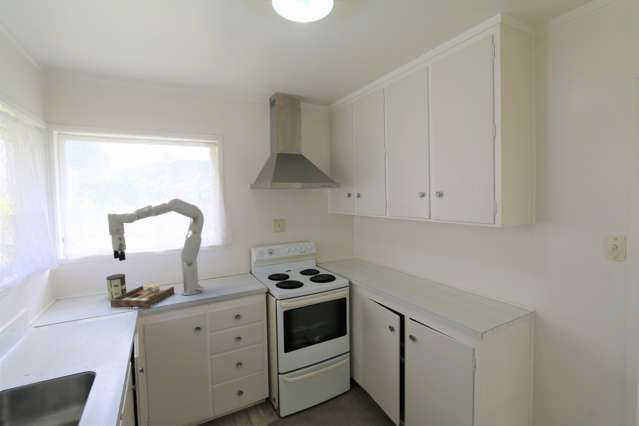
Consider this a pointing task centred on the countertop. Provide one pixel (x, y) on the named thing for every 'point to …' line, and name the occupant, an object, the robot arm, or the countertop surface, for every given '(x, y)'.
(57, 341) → the countertop surface
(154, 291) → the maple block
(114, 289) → the coffee can
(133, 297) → the wooden tray
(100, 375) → the countertop surface
